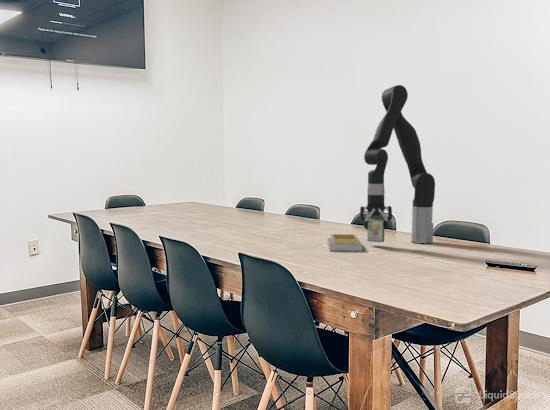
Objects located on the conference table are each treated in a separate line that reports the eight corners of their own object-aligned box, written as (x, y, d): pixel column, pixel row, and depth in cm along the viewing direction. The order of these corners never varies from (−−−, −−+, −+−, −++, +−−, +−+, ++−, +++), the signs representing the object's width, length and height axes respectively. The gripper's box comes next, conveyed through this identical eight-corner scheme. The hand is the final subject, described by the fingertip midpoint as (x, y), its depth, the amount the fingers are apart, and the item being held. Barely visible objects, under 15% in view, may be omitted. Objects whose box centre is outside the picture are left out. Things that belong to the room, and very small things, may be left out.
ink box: (367, 241, 245) (367, 212, 244) (369, 240, 249) (369, 211, 247) (382, 242, 242) (382, 213, 240) (384, 241, 245) (384, 211, 244)
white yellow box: (357, 246, 249) (358, 234, 249) (361, 253, 233) (362, 239, 233) (327, 246, 250) (327, 233, 249) (329, 252, 234) (329, 239, 233)
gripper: (390, 192, 247) (389, 227, 248) (358, 193, 247) (358, 228, 248) (393, 193, 239) (393, 230, 241) (361, 194, 239) (361, 230, 241)
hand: (375, 229), depth 245 cm, fingers closed on ink box, 8 cm apart
